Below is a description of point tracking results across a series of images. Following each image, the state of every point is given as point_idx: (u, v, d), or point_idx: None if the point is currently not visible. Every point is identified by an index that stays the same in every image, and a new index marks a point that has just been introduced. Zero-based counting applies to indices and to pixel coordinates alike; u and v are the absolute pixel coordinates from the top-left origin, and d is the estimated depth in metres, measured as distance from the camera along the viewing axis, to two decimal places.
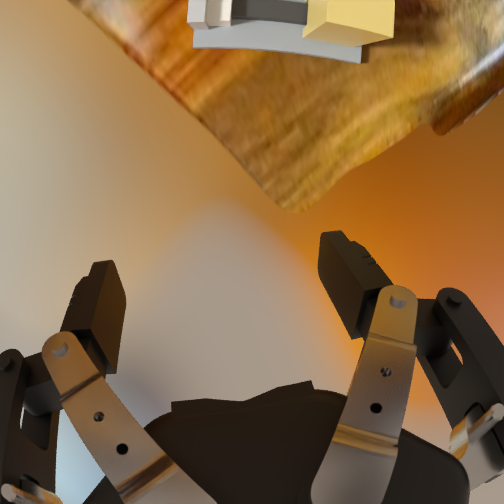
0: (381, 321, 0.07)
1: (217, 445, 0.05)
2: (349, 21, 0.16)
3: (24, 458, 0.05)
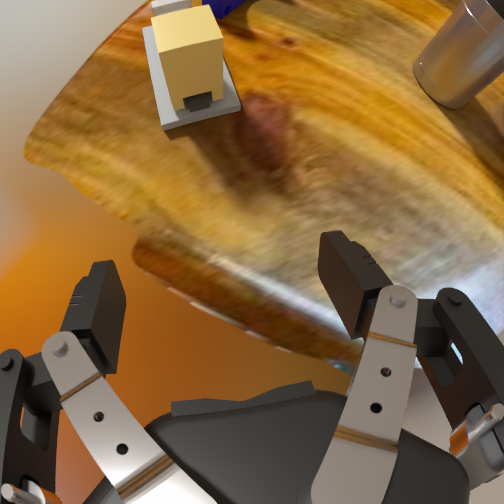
0: (381, 321, 0.07)
1: (217, 445, 0.05)
2: (157, 26, 0.19)
3: (24, 458, 0.05)
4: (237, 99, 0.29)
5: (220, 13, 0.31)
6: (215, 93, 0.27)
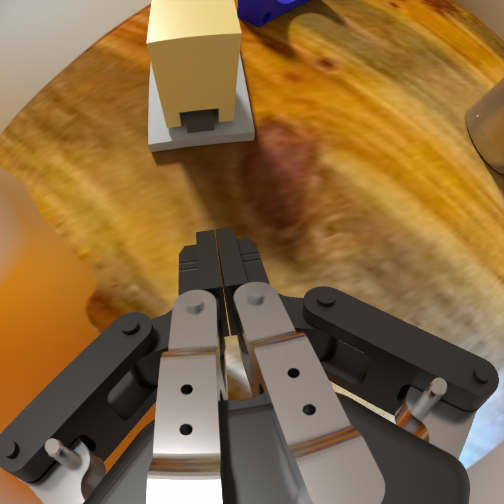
0: (253, 326, 0.08)
1: None
2: (156, 10, 0.14)
3: (94, 422, 0.06)
4: (251, 125, 0.23)
5: (257, 20, 0.26)
6: (223, 113, 0.21)
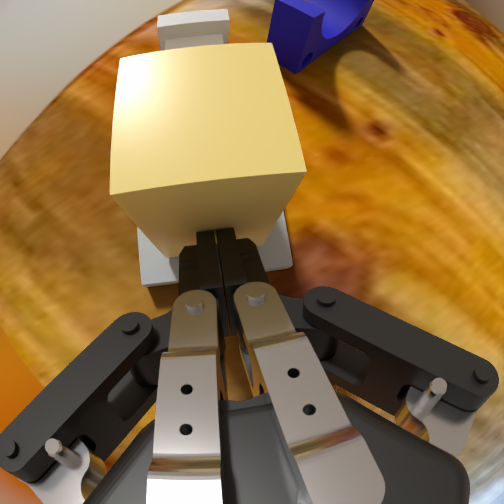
0: (253, 326, 0.08)
1: None
2: (126, 89, 0.08)
3: (94, 422, 0.06)
4: (288, 252, 0.17)
5: (296, 64, 0.20)
6: None
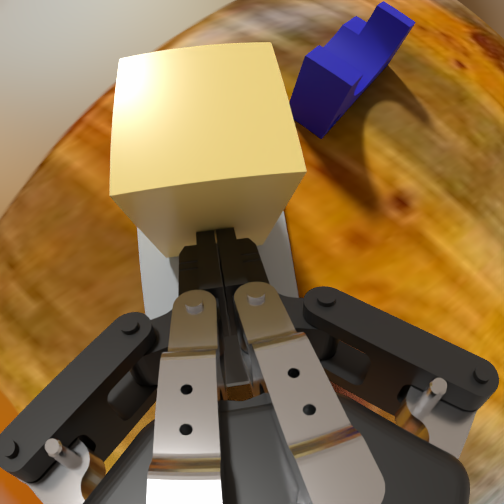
0: (253, 326, 0.08)
1: None
2: (126, 90, 0.08)
3: (94, 422, 0.06)
4: None
5: (322, 129, 0.19)
6: None
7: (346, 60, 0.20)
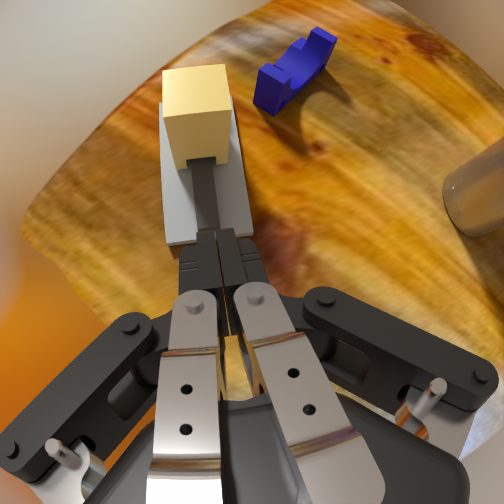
0: (253, 326, 0.08)
1: None
2: (167, 83, 0.21)
3: (94, 422, 0.06)
4: (251, 224, 0.29)
5: (273, 110, 0.32)
6: (219, 159, 0.28)
7: (292, 68, 0.33)
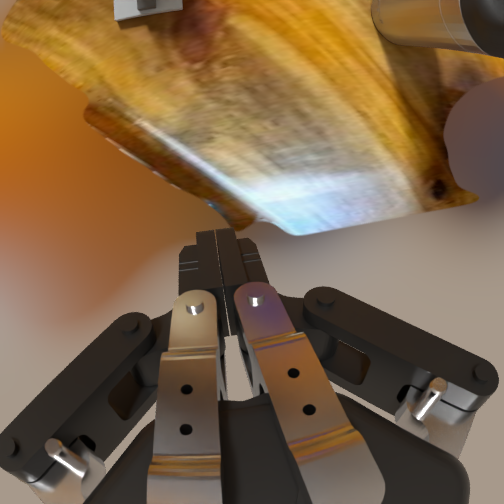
0: (253, 326, 0.08)
1: None
2: None
3: (94, 422, 0.06)
4: (181, 3, 0.26)
5: None
6: None
7: None
